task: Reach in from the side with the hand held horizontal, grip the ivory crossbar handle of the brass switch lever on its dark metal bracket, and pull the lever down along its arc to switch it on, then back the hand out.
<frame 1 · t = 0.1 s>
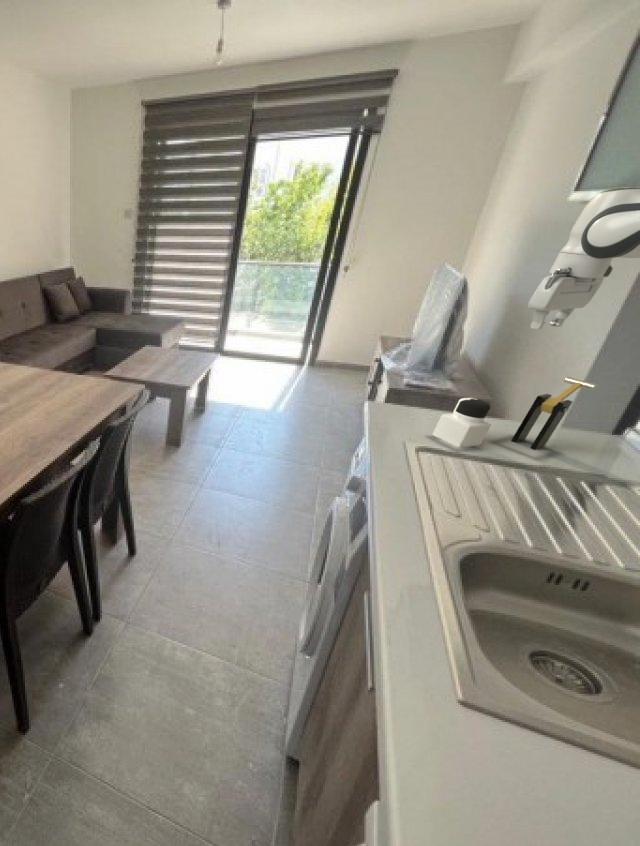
hand: (545, 327, 117), 28 cm above the table, tool pointing down, fingers open, 8 cm apart
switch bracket: (524, 448, 121), on the table
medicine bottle: (452, 445, 122), on the table
switch lever: (564, 395, 116), point 14 cm above the table, hinge at 28.0°
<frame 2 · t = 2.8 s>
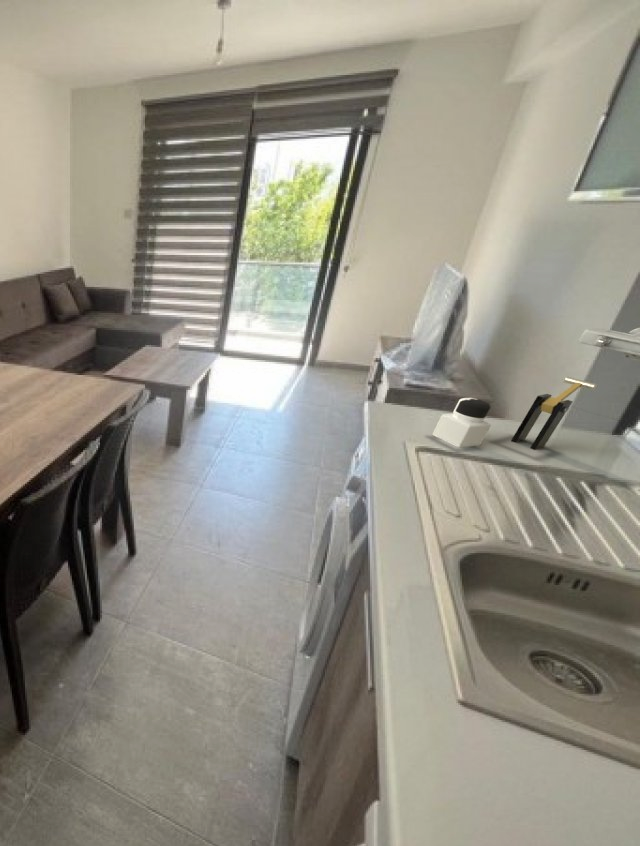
hand: (623, 348, 118), 24 cm above the table, tool horizontal, fingers open, 8 cm apart
nothing on the table moved.
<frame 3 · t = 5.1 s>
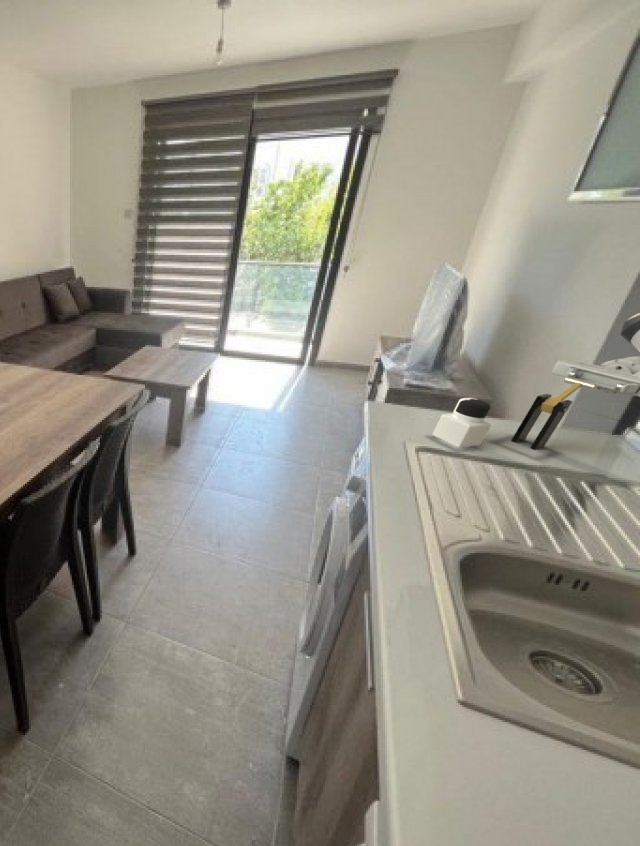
hand: (593, 381, 119), 16 cm above the table, tool horizontal, fingers open, 8 cm apart
nothing on the table moved.
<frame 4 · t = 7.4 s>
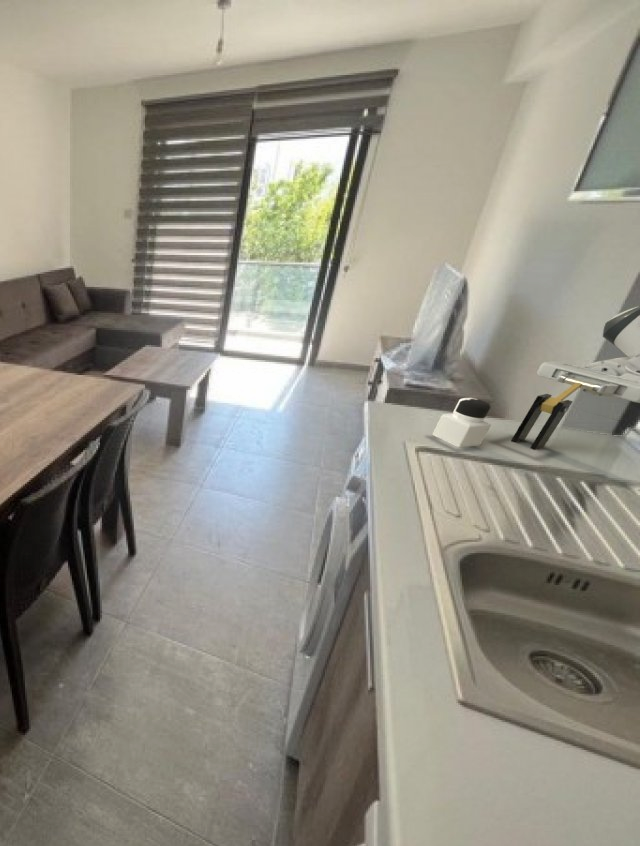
hand: (578, 383, 116), 17 cm above the table, tool horizontal, fingers closed on switch lever, 5 cm apart
switch lever: (564, 395, 116), point 14 cm above the table, hinge at 28.0°, touching gripper
everything else where it was.
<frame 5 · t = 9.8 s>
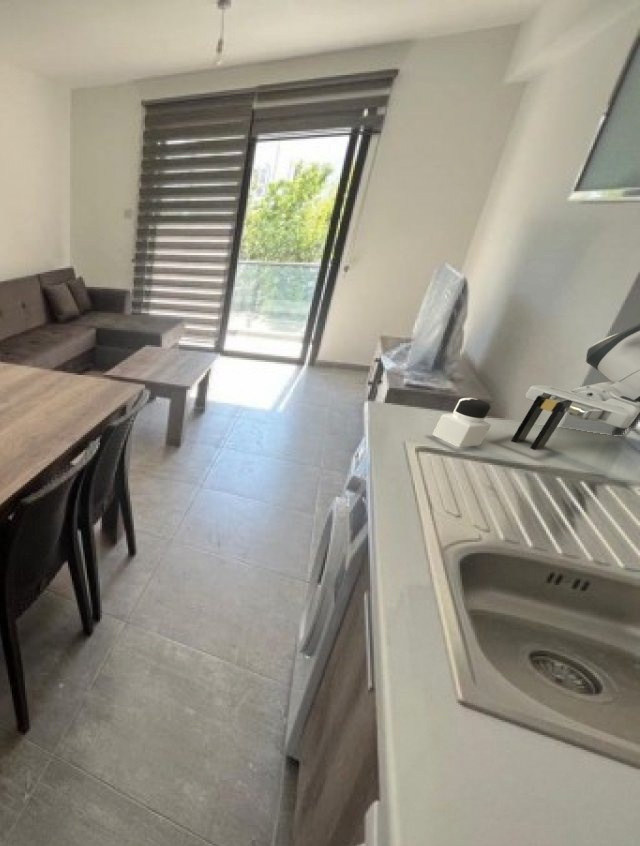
hand: (564, 408, 120), 10 cm above the table, tool horizontal, fingers closed on switch lever, 5 cm apart
switch lever: (558, 405, 118), point 11 cm above the table, hinge at -9.3°, touching gripper
everything else where it was.
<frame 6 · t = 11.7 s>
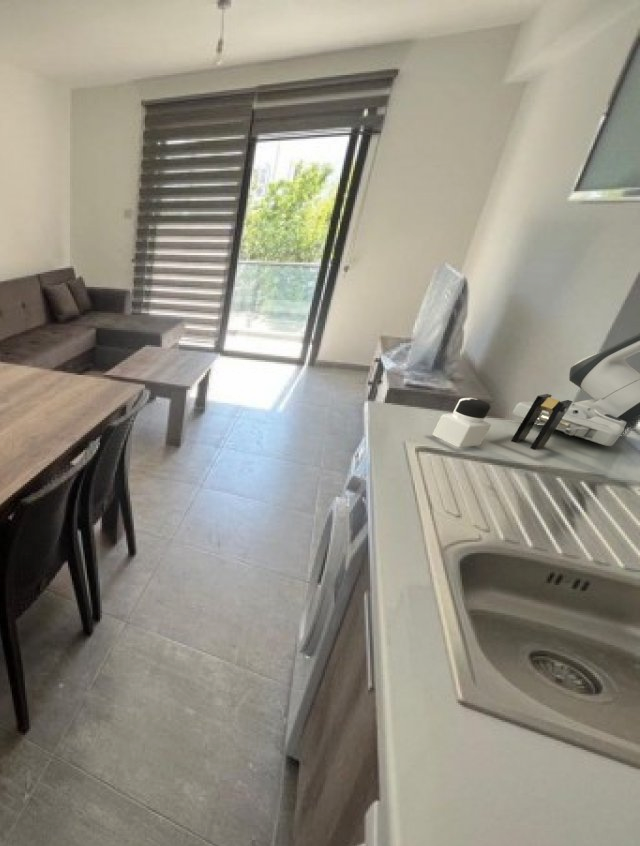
hand: (551, 425, 122), 5 cm above the table, tool horizontal, fingers closed on switch lever, 5 cm apart
switch lever: (553, 412, 118), point 9 cm above the table, hinge at -33.2°, touching gripper
everything else where it was.
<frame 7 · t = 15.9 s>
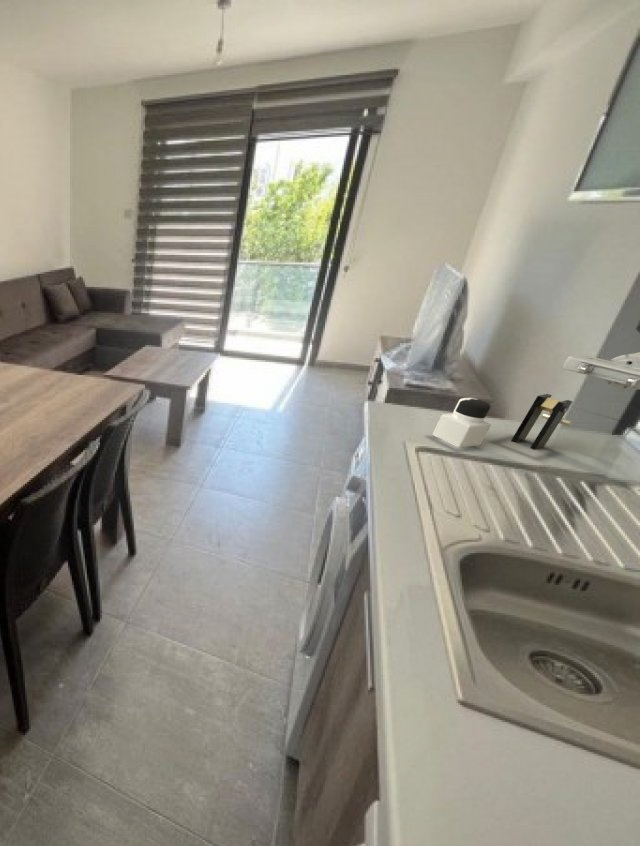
hand: (605, 376, 121), 17 cm above the table, tool horizontal, fingers open, 8 cm apart
switch lever: (553, 412, 118), point 10 cm above the table, hinge at -30.5°
everything else where it was.
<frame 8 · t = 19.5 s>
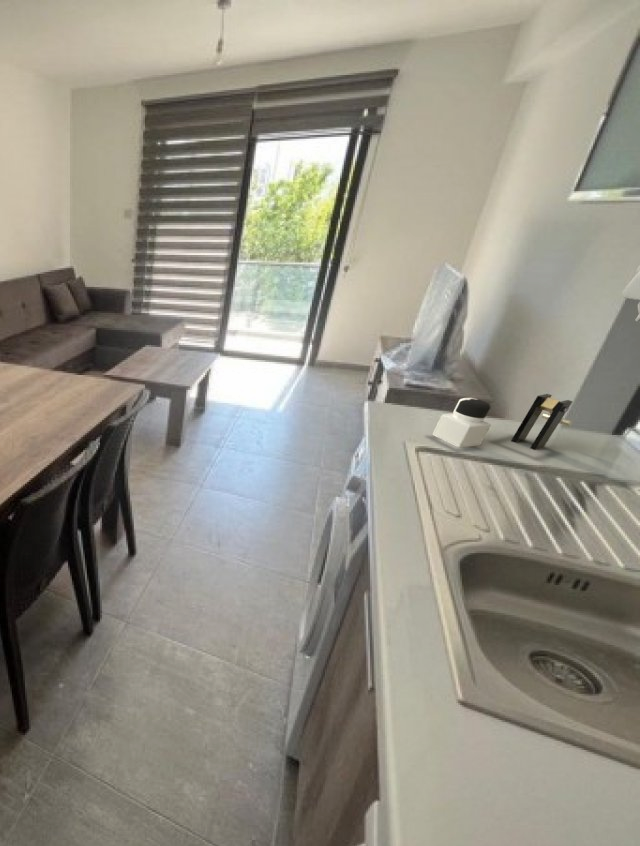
nothing on the table moved.
at the end: switch lever at -30° (first picture: +28°); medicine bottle moved 0.2 cm from its start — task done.
